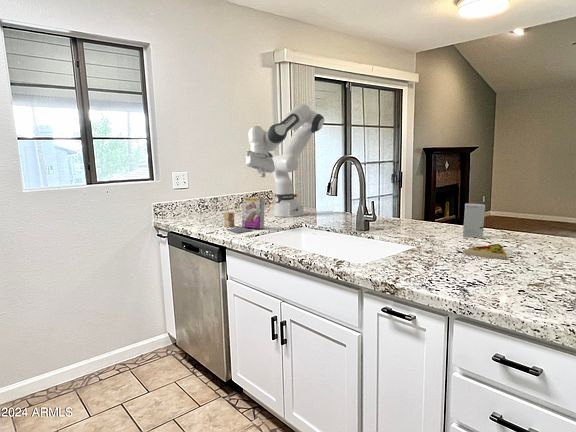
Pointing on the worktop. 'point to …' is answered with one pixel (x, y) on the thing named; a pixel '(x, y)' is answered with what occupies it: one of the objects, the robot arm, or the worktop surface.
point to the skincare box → (474, 220)
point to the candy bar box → (253, 213)
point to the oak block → (229, 219)
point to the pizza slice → (488, 251)
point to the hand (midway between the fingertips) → (262, 176)
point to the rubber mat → (239, 230)
